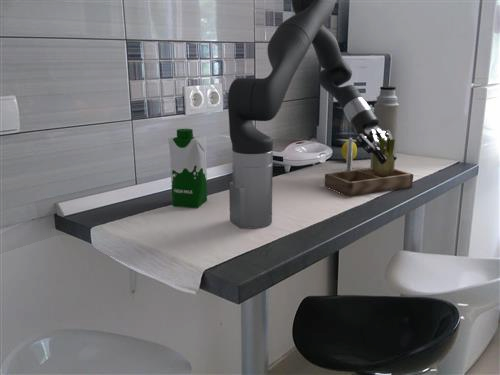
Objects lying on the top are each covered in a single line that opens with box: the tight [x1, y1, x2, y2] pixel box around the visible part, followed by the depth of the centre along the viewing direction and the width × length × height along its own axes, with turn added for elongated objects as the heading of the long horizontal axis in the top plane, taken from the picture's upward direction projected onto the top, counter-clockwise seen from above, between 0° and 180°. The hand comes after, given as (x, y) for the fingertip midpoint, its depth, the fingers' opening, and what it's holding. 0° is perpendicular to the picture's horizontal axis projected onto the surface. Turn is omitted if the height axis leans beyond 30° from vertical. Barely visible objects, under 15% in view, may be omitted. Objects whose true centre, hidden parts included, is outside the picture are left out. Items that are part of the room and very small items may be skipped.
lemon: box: [341, 140, 358, 161], centre depth 182 cm, size 6×6×8 cm
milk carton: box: [168, 128, 208, 209], centre depth 130 cm, size 9×9×20 cm
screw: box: [340, 137, 354, 172], centre depth 158 cm, size 13×5×5 cm
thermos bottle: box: [369, 85, 400, 169], centre depth 166 cm, size 8×8×28 cm
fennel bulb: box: [373, 137, 395, 177], centre depth 148 cm, size 6×5×12 cm
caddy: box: [324, 167, 414, 198], centre depth 147 cm, size 23×12×4 cm, turn 116°
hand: (389, 161), depth 147 cm, fingers closed on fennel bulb, 3 cm apart
